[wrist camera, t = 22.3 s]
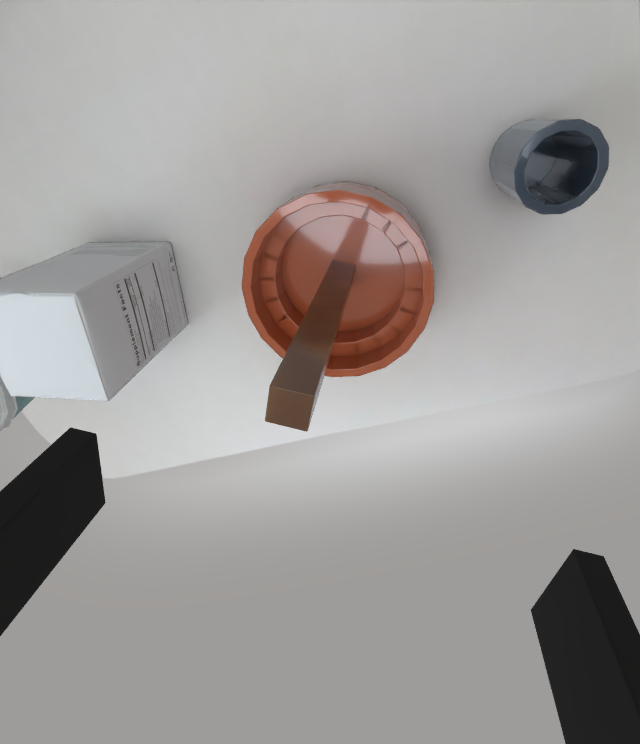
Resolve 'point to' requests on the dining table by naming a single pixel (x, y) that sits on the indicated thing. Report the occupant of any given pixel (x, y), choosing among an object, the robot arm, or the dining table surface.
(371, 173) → the dining table surface
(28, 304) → the rectangular carton
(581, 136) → the gray pipe section
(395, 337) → the bowl
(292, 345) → the stirring stick
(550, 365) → the dining table surface
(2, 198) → the dining table surface
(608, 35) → the dining table surface
